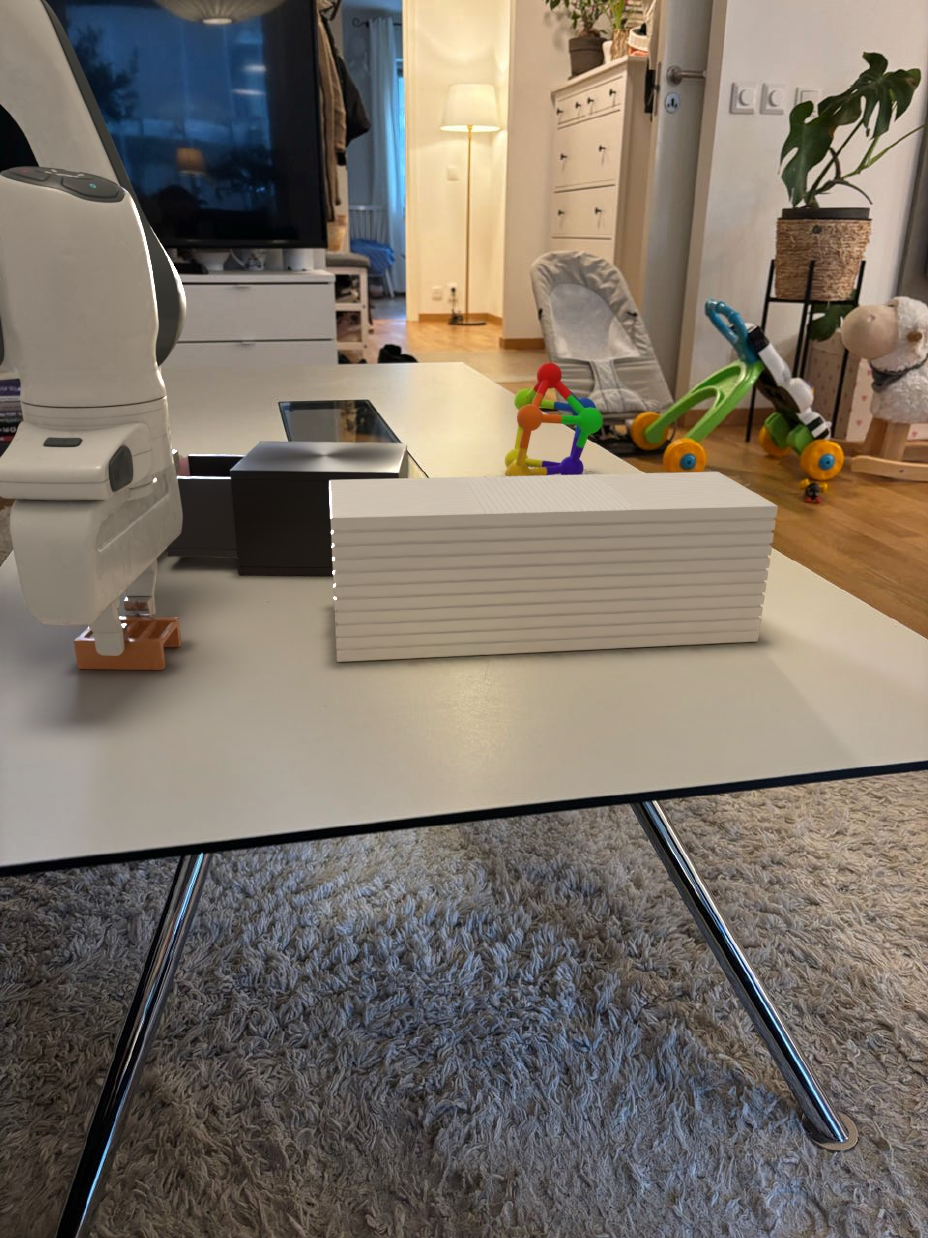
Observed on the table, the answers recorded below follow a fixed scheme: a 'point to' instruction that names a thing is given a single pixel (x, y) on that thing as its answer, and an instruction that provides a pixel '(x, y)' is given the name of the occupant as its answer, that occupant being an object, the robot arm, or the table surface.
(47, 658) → the table surface
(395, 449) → the brushed black cube
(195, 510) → the drawer
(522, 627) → the stack of papers
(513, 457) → the educational toy
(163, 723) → the table surface
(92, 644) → the rack
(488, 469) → the table surface
